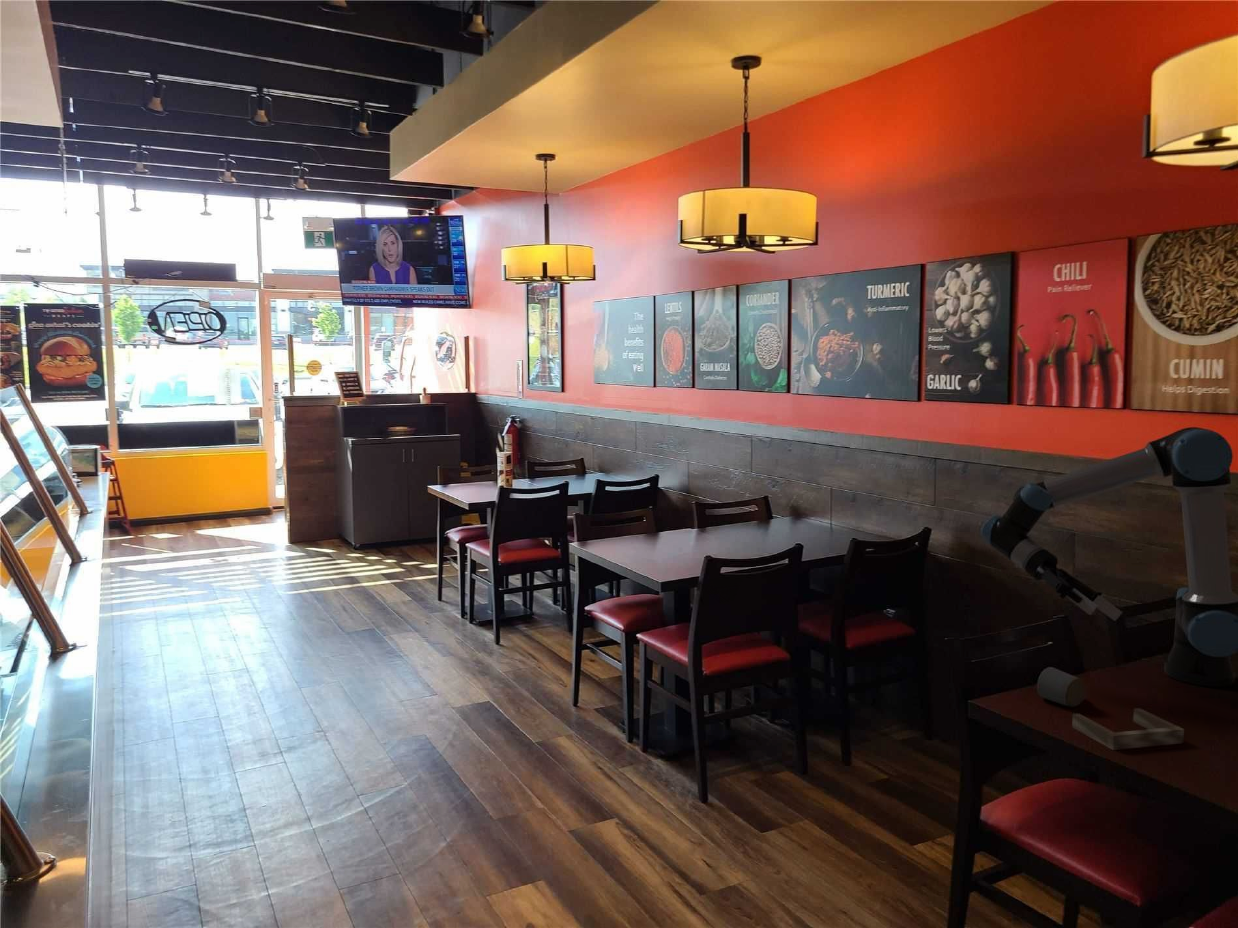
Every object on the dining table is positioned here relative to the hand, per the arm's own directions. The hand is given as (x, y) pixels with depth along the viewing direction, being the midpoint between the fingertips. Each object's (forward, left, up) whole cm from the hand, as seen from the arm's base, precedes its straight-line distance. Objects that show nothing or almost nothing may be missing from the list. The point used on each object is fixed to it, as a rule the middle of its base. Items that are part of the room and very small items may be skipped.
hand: (1106, 613), depth 205 cm
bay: (+9, +18, -21) cm, 30 cm away
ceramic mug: (+9, -2, -22) cm, 23 cm away
